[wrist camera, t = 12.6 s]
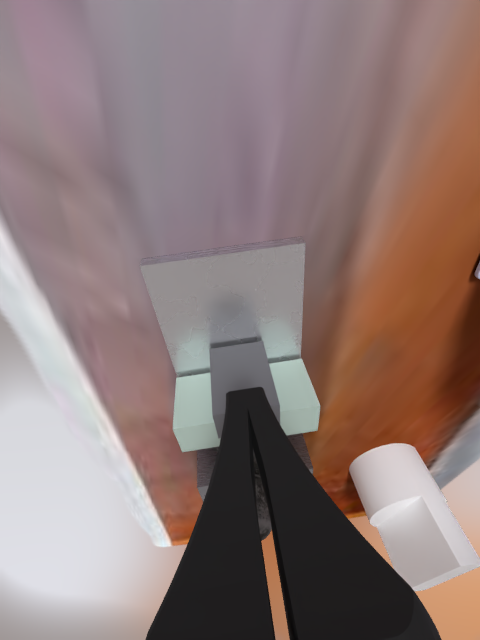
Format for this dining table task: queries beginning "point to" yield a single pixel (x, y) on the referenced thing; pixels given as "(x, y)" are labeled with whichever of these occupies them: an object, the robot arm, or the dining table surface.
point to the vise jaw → (235, 374)
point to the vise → (229, 310)
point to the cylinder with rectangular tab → (412, 516)
